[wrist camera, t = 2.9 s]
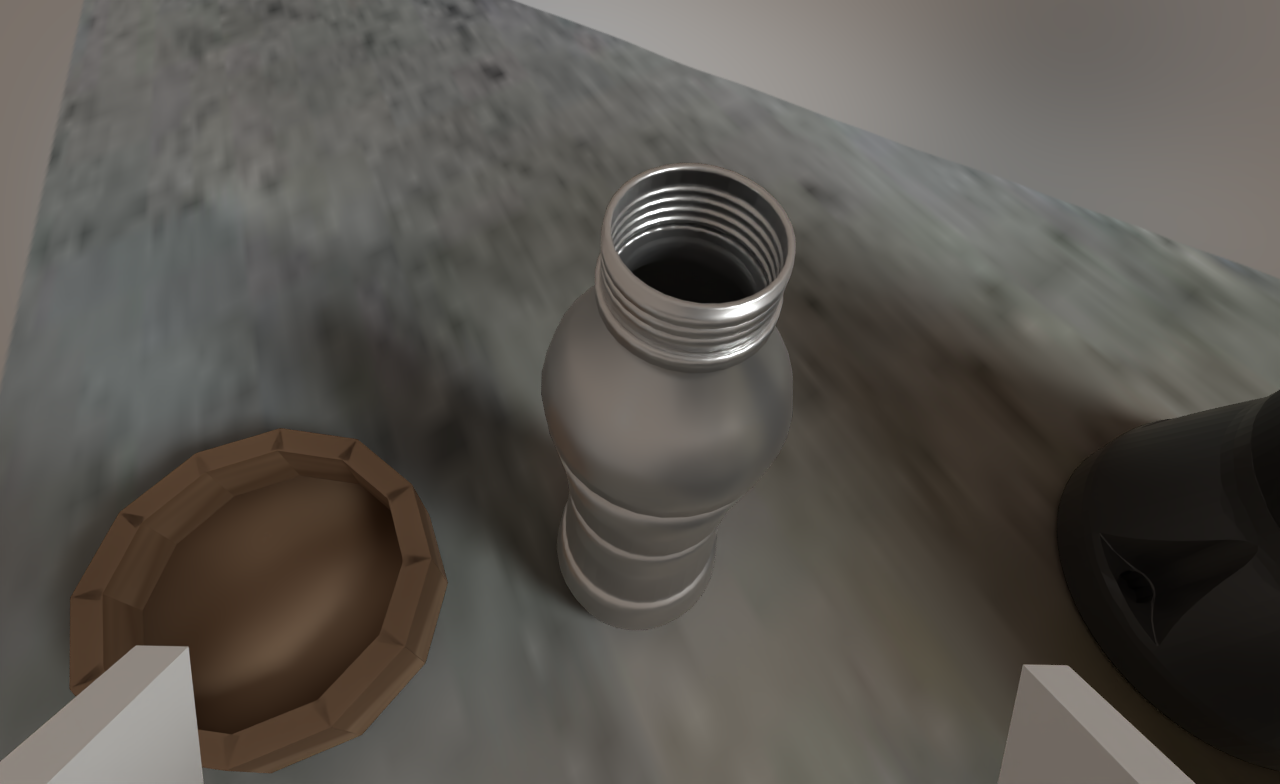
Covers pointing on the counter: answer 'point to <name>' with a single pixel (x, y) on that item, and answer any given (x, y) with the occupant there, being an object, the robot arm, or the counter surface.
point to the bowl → (270, 592)
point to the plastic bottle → (668, 387)
